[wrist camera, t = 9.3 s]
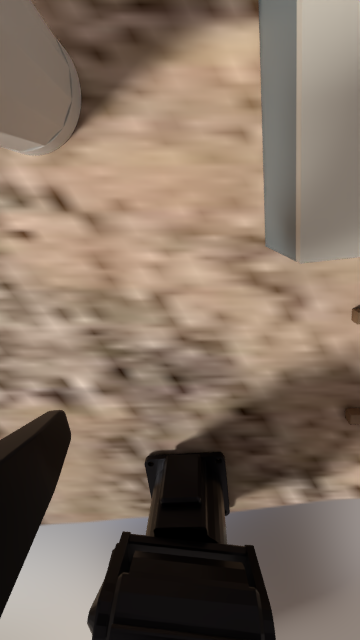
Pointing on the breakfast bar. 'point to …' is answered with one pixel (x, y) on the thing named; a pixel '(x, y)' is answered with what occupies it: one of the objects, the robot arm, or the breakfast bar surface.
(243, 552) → the robot arm
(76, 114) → the cup
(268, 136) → the box
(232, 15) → the breakfast bar surface
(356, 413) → the coin stand
